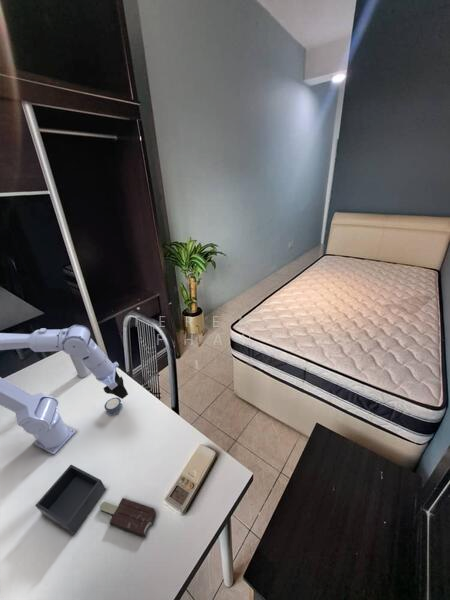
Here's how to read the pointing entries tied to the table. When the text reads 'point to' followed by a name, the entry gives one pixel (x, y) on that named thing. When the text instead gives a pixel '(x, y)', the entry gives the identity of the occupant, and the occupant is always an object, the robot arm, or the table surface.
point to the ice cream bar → (130, 516)
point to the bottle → (80, 367)
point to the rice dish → (113, 406)
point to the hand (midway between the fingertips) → (121, 389)
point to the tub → (71, 498)
